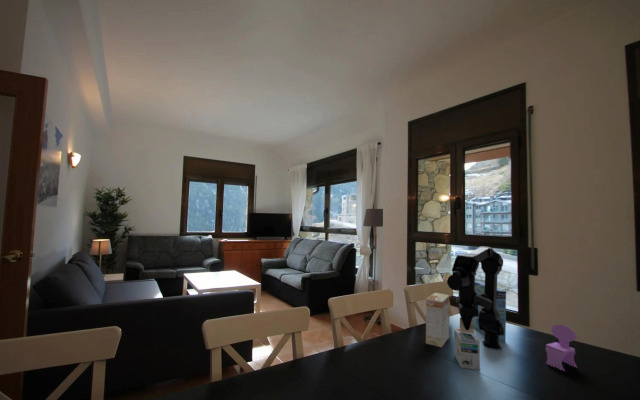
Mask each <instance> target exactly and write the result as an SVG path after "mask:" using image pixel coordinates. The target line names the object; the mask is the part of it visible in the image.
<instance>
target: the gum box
mask: <svg viewBox="0 0 640 400" xmlns="http://www.w3.org/2000/svg"><path fill="white" fill-rule="evenodd" d="M475 292H476V293H477V294H479V295H480V294H482V293H483V294H484V293H485V282H481V281H475ZM472 306H473V305H472ZM475 307H476V308H477V309H478V311H479V312H480V311H482V309H483V308H484V307H481V306H479V305H477V306H475ZM496 309H497V311H498V313H499V315H500V318H501V322H502V324H503V326H504V335H499V343H501V342H502V343H506V332H507V330H506V329H507V327H506V326H507V325H506V323H507V317H506V316H507V315H506V314H507V291H505V290H503V289H500V288H498V287H497V302H496ZM478 318H479V317H473V318H472V319H473V322H474V329H476V330H478V331H479V332H480V333H483V334H484V331H483V330H479V324H478Z"/></svg>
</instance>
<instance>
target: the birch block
mask: <svg viewBox="0 0 640 400" xmlns="http://www.w3.org/2000/svg"><path fill="white" fill-rule="evenodd" d="M459 329H460V331H461V332H466V333H472V334H474V335H475V328H474V322H473V319H472V321H471V324H470V328H469V330H466V329H465V327H464V324H463V321H462V319H461V317H459Z"/></svg>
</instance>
